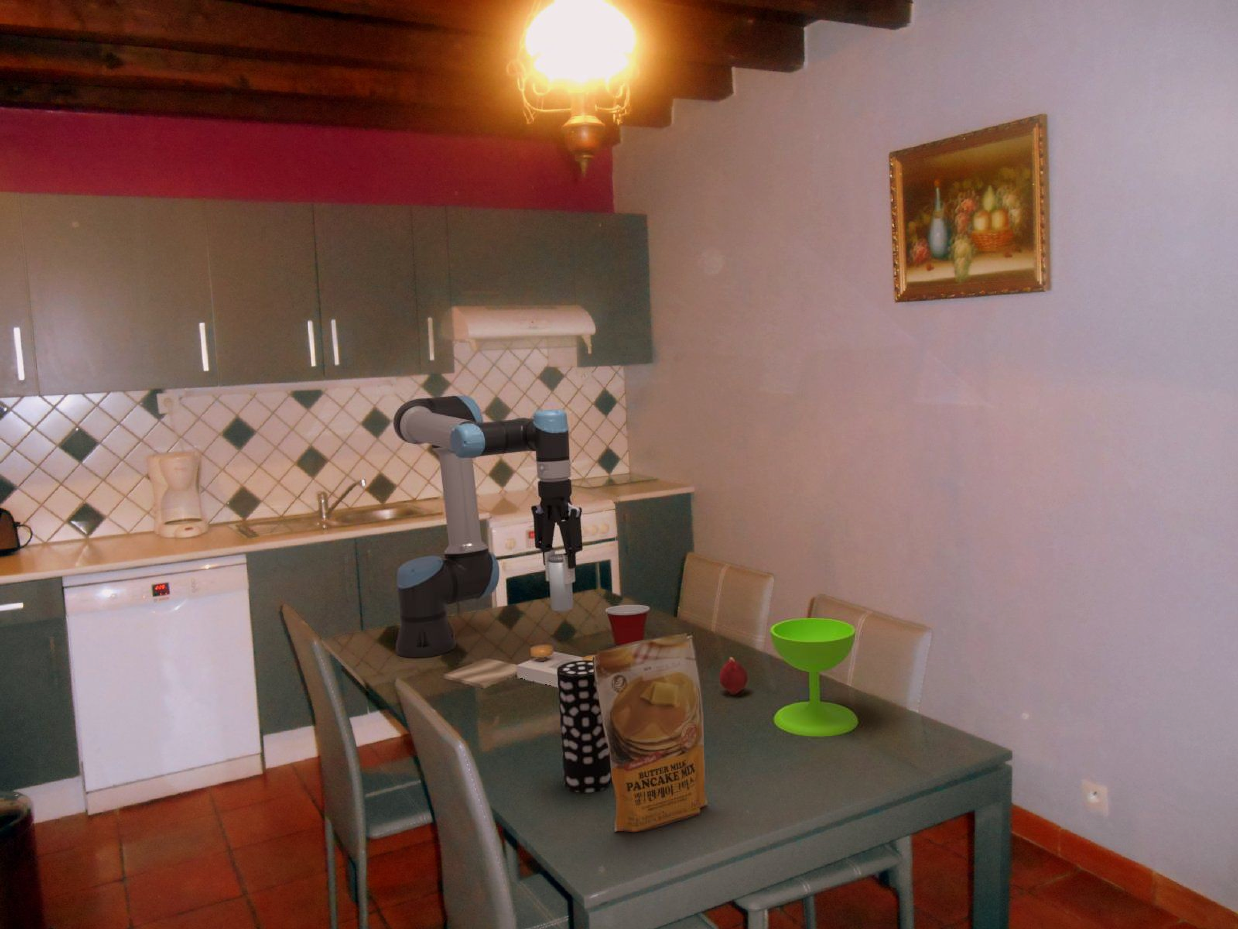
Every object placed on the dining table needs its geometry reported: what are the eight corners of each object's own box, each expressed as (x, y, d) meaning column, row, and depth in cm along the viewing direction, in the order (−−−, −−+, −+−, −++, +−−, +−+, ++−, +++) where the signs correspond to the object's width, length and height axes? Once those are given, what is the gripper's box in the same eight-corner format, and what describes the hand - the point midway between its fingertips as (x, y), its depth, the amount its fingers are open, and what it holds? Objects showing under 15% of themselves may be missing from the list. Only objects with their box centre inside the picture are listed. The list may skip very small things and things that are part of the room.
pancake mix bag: (593, 823, 145) (583, 647, 142) (700, 793, 153) (691, 626, 150) (612, 842, 139) (601, 659, 136) (721, 809, 147) (713, 636, 144)
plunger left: (527, 667, 218) (525, 649, 217) (542, 661, 222) (541, 643, 221) (543, 671, 214) (542, 652, 214) (558, 665, 218) (557, 646, 218)
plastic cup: (653, 648, 232) (650, 600, 231) (650, 662, 221) (648, 612, 220) (610, 649, 233) (607, 602, 232) (605, 663, 222) (602, 613, 221)
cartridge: (546, 609, 211) (543, 557, 210) (561, 604, 215) (558, 552, 214) (563, 612, 208) (559, 559, 207) (577, 606, 212) (574, 554, 211)
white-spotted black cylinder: (563, 773, 163) (556, 662, 161) (611, 769, 164) (604, 658, 162) (564, 795, 155) (557, 678, 153) (614, 790, 156) (607, 674, 153)
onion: (751, 691, 198) (749, 654, 197) (743, 700, 193) (741, 663, 192) (725, 688, 201) (723, 652, 200) (716, 697, 196) (714, 660, 195)
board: (443, 678, 218) (442, 674, 218) (487, 661, 229) (487, 658, 229) (484, 688, 209) (483, 685, 209) (528, 670, 220) (527, 667, 220)
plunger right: (578, 679, 208) (577, 659, 207) (593, 672, 212) (592, 653, 211) (596, 683, 204) (595, 663, 204) (611, 676, 208) (610, 657, 208)
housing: (517, 678, 215) (516, 665, 215) (553, 663, 224) (552, 651, 224) (586, 694, 202) (585, 680, 202) (620, 678, 211) (620, 665, 211)
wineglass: (809, 743, 170) (805, 647, 168) (757, 716, 184) (753, 627, 182) (876, 724, 177) (873, 631, 175) (821, 699, 191) (818, 613, 189)
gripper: (513, 479, 211) (520, 580, 214) (573, 482, 200) (579, 589, 202) (536, 475, 217) (543, 573, 220) (595, 478, 206) (601, 581, 208)
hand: (560, 581), depth 211 cm, fingers closed on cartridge, 5 cm apart
